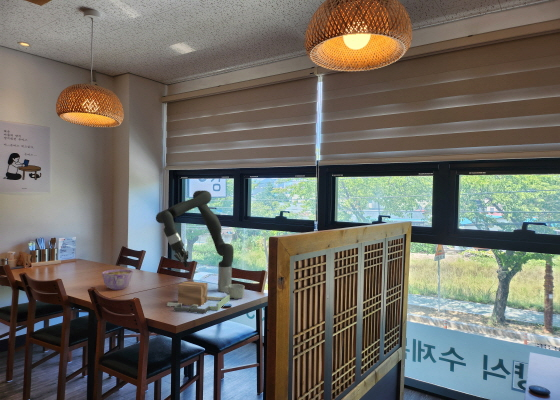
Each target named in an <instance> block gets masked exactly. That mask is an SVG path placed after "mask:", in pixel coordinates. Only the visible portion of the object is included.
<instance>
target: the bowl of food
mask: <svg viewBox="0 0 560 400" xmlns="http://www.w3.org/2000/svg"><path fill="white" fill-rule="evenodd" d="M133 272H134V271H133V270H132V269H131V270H130V269H121V268H120V269H117V268H116V269H108V270H104V271H102V272H101V275H102V279H103V284H104V285H105V287H107V288H109V289H110V290H112V291H120V290H123V289H125V288H126V287H128V286H129V285H130V283H131V281H132V278H133V277H132V276H133Z"/></svg>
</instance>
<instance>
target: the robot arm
mask: <svg viewBox="0 0 560 400" xmlns="http://www.w3.org/2000/svg"><path fill="white" fill-rule="evenodd" d="M192 194H193V195H192V198H190V199H188V200H184V201H181V202H179V203H176V204H174V205H172V206H171V207H169V208H166V209H164V210H162V211H160V212H157V214H156V215H155V220H156V222H157V223H158V224H163V225H164V228H163V232H164V234H165V237H166V238H167V242H168V243H169V246H170V248H171V251H174V253H175V254H174V257H175V259H177V260H178V261H179V262H181V263H182V264H183V266H184V268H188V267H189V266H190V264H189V262H188V259H189V251H188V250H187V251H186V250H185V248H184V247H185V244H184V242H183V240H182V237H181V235H180V234H179V233H178V230H177V228H176V225H175V221H174V218H176V217H179V216H181V215H183V214H185V213H186V212H189V211H190V210H193V209H195V208H197V209H198V211H199V213H200V215H201V217H202V218H203V221H204V224H205V226H206V228H207V230H208V232H209V234H210V237H211V239H212V242H213V244H214V249H215V251H216V253H217V254H218V255H219V256H220V257H222V260H221V261H219V262H218V267H217V268H218V271H217V272H218V274H217V275H218V277H217V291H218V292H220V293H225V292H224V291H223V288H224V287H225V286H227V287H228V286H229V285H231V284H232V272H233V269H232V266H233V265H232V264H233V261H234V252H235V251H234V250H235V249H234V246H233V244H230V243H226V242H225V241H224V239H223V237H222V225H221V222H220V220H219V217H218V215H216V213H214V212H213V211H212V210H211V208H209V205H208V204H209V203H210V202H211V200H212V194H211V192H210V191H208V190H196V191H194V192H193V193H192ZM225 291H226V292H228V289H227V288H225Z"/></svg>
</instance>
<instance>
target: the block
mask: <svg viewBox="0 0 560 400" xmlns="http://www.w3.org/2000/svg"><path fill="white" fill-rule="evenodd" d="M207 296H208V282H199V281H183V282H181V283H178V284H177V303H181V304H184V305H183V306H192V305H198V307H202V306H204V303H205V304H206V303H207V302H208V300H207ZM201 305H202V306H201Z"/></svg>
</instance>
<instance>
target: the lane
mask: <svg viewBox="0 0 560 400" xmlns="http://www.w3.org/2000/svg"><path fill="white" fill-rule="evenodd" d="M230 298H231V297H230V295H227V294H226V296H224V297H221V296H211V295H210V296H209V295H207V301H216V300H221V301H218V302H217V303H216V306H214V305H212V306H211V305H208V306H207V307H205V308H199V306H198V305H189V306H188V307H186V306H183V305H182V304H181V303H178V302H169V301H168V302H167V304H166V306H167V307H171V306H175V307H173V311H174V310H175V311H174V312H181V311H187V312H186V313H192V312H197V313H196V314H203V313H205V314H206V312H207V311H208V312H210V311H217V310H218V311H219V310H221V309H222V308H223V307H224V306H225V305H224V304H226V303H227V302H228V301H229V302H230V301H231V299H230ZM229 302H228V303H229ZM228 303H227V304H228ZM227 304H226V305H227ZM223 305H224V306H223ZM222 306H223V307H222ZM221 307H222V308H221ZM220 308H221V309H220ZM189 311H190V312H189ZM208 312H207V313H208Z"/></svg>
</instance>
